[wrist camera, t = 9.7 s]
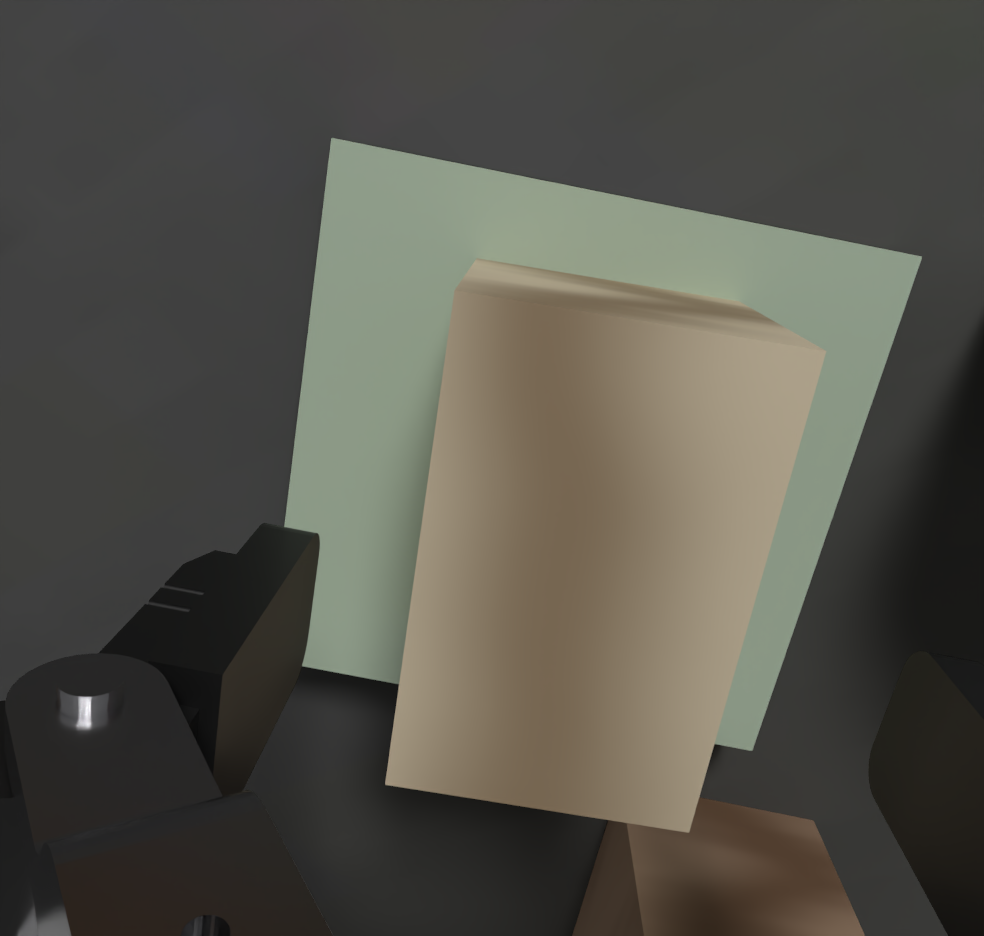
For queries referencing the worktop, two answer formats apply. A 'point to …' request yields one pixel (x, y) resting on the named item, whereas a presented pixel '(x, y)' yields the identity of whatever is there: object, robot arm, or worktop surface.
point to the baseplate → (421, 355)
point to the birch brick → (592, 540)
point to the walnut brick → (716, 879)
